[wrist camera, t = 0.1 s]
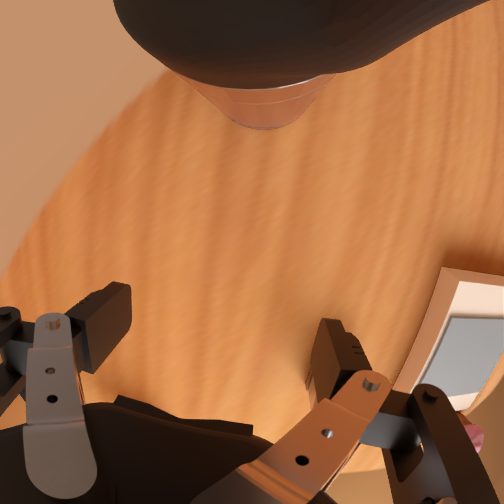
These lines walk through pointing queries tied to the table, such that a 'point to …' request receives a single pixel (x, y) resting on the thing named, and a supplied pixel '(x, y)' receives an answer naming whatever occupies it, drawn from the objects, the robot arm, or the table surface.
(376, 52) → the robot arm
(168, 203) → the table surface
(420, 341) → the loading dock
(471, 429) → the cupcake
